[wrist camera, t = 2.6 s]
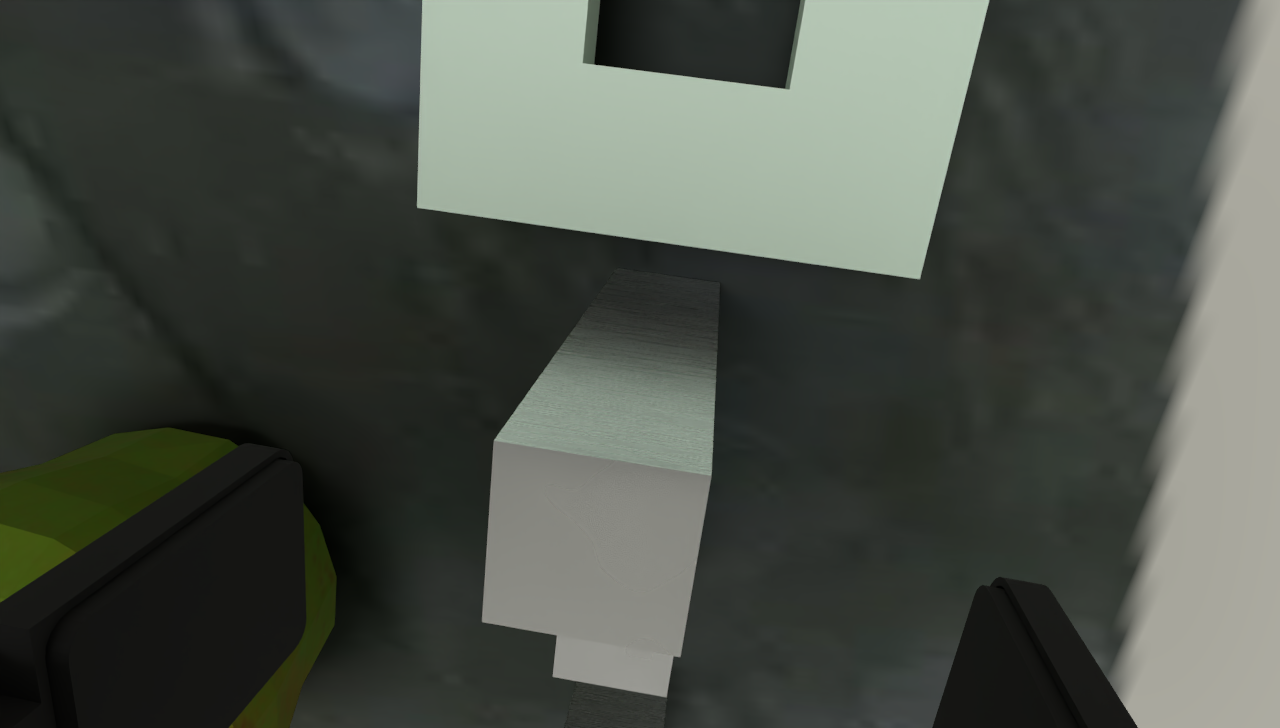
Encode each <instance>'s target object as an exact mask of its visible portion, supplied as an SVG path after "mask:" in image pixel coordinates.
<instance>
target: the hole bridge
mask: <svg viewBox="0 0 1280 728" xmlns="http://www.w3.org/2000/svg"><path fill="white" fill-rule="evenodd" d="M988 3H989V0H801V1H800V7H799V13H798V18H797V24H796V30H795V35H794V41H793V47H792V53H791V58H790V64H789V70H788V75H787V81H786V87H785V89H780V88H773V87H765V86H757V85H749V84H741V83H733V82H726V81H718V80H710V79H702V78H694V77H686V76H679V75H671V74H663V73H655V72H647V71H639V70H632V69H624V68H616V67H608V66H600V65H594V61H595V50H596V40H597V29H598V19H599V9H600V0H422V37H421V75H420V113H419V152H418V190H417V208H423V209H430V210H437V211H444V212H451V213H458V214H465V215H472V216H479V217H486V218H493V219H500V220H507V221H514V222H521V223H528V224H535V225H542V226H549V227H556V228H563V229H570V230H577V231H584V232H591V233H598V234H605V235H612V236H619V237H626V238H633V239H640V240H647V241H655V242H662V243H669V244H676V245H683V246H690V247H697V248H704V249H711V250H718V251H725V252H732V253H739V254H746V255H753V256H760V257H767V258H774V259H781V260H788V261H795V262H802V263H809V264H816V265H823V266H830V267H837V268H844V269H851V270H858V271H865V272H872V273H879V274H886V275H893V276H900V277H908V278H915V279H920V276H921V272H922V268H923V264H924V260H925V256H926V252H927V248H928V244H929V240H930V236H931V232H932V228H933V224H934V220H935V216H936V212H937V208H938V204H939V200H940V196H941V192H942V188H943V184H944V180H945V176H946V172H947V168H948V164H949V160H950V156H951V152H952V148H953V144H954V140H955V136H956V132H957V128H958V124H959V120H960V116H961V112H962V108H963V104H964V100H965V96H966V92H967V88H968V84H969V80H970V76H971V72H972V68H973V64H974V60H975V55H976V51H977V47H978V43H979V39H980V35H981V31H982V27H983V23H984V19H985V15H986V11H987V7H988Z"/></svg>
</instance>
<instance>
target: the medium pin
mask: <svg viewBox="0 0 1280 728" xmlns="http://www.w3.org/2000/svg"><path fill="white" fill-rule="evenodd" d="M672 661H673V656H670V655H665V654H659V653H654V652H648V651H642V650H637V649H631V648H625V647H620V646H614V645H609V644H603V643H597V642H592V641H586V640H580V639H575V638H569V637H564V636H558V635H557V640H556V650H555V659H554V669H553V677H557V678H562V679H568V680H573V681H579V682H584V683H590V684H595V685H601V686H606V687H612V688H617V689H623V690H628V691H634V692H639V693H645V694H650V695H656V696H661V697H667V691H668V685H669V679H670V673H671V667H672Z"/></svg>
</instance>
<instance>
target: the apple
mask: <svg viewBox="0 0 1280 728" xmlns="http://www.w3.org/2000/svg"><path fill="white" fill-rule="evenodd" d="M237 447H238V445H236V444H235V443H233V442H232V441H230V440H227V439H223V438H218V437H213V436H208V435H203V434H198V433H193V432H189V431H184V430H179V429H174V428H169V427H168V428H159V429H151V430H142V431H134V432H125V433H117V434H112V435H110V436H108V437H105V438H103V439H100V440H98V441H96V442H93V443H91V444H88V445H86V446H84V447H81V448H79V449H77V450H74V451H72V452H69V453H67V454H65V455H62V456H60V457H57V458H55V459H53V460H50V461H48V462H45V463H43V464H39V465H35V466H30V467H26V468H21V469H17V470H12V471H8V472H3V473H0V602H2V601H3V600H5V599H6V598H8V597H9V596H11V595H12V594H14V593H15V592H17V591H18V590H20V589H22V588H23V587H25V586H26V585H28V584H29V583H31V582H32V581H34V580H35V579H37V578H38V577H40V576H41V575H43V574H44V573H46V572H47V571H49V570H51V569H52V568H54V567H55V566H57V565H58V564H60V563H61V562H63V561H64V560H66V559H67V558H69V557H70V556H72V555H73V554H75V553H76V552H78V551H80V550H81V549H83V548H84V547H86V546H87V545H89V544H90V543H92V542H93V541H95V540H96V539H98V538H99V537H101V536H102V535H104V534H105V533H107V532H109V531H110V530H112V529H113V528H115V527H116V526H118V525H119V524H121V523H122V522H124V521H125V520H127V519H128V518H130V517H131V516H133V515H135V514H136V513H138V512H139V511H141V510H142V509H144V508H145V507H147V506H148V505H150V504H151V503H153V502H154V501H156V500H157V499H159V498H160V497H162V496H164V495H165V494H167V493H168V492H170V491H171V490H173V489H174V488H176V487H177V486H179V485H180V484H182V483H183V482H185V481H186V480H188V479H189V478H191V477H193V476H194V475H196V474H197V473H199V472H200V471H202V470H203V469H205V468H206V467H208V466H209V465H211V464H212V463H214V462H215V461H217V460H218V459H220V458H222V457H223V456H225V455H226V454H228V453H229V452H231V451H232V450H234V449H235V448H237ZM303 508H304V545H305V582H306V626H305V631H304V633H303V636H302V639H301V640H300V642H299V644H298V646H297V647H296V648H295V650H294V651H293V652H292V653H291V654H290V656H289V657H288V658H287V659H286V660H285V661H284V663H283V664H282V665H281V666H280V667H279V669H278V670H277V671H276V672H275V673H274V675H273V676H272V677H271V678H270V679H269V680H268V682H267V683H266V684H265V685H264V686H263V688H262V689H261V690H260V691H259V692H258V693H257V695H256V696H255V697H254V698H253V699H252V701H251V702H250V703H249V704H248V705H247V707H246V708H245V709H244V710H243V711H242V712H241V714H240V715H239V716H238V717H237V718H236V720H235V721H234V722H233V723H232V724H231V726H230V727H229V728H289V727H290V724H291V720H292V717H293V714H294V711H295V707H296V704H297V701H298V698H299V694H300V691H301V688H302V685H303V683H304V681H305V679H306V677H307V675H308V674H309V672H310V670H311V668H312V666H313V664H314V662H315V661H316V659H317V657H318V655H319V653H320V651H321V649H322V647H323V646H324V644H325V642H326V640H327V638H328V636H329V634H330V632H331V631H332V629H333V627H334V625H335V603H336V579H337V577H336V574H335V570H334V567H333V564H332V561H331V558H330V555H329V552H328V549H327V546H326V543H325V540H324V537H323V534H322V531H321V527H320V525H319V523H318V522H317V521H316V519H315V518H314V517H313V515H312V514H311V513H310V511H309V510H308V509H307V507H306V506H305V505H304V503H303Z"/></svg>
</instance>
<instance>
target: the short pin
mask: <svg viewBox="0 0 1280 728" xmlns="http://www.w3.org/2000/svg"><path fill="white" fill-rule="evenodd" d="M667 692H668V691H667ZM666 702H667V697H661V696H656V695H650V694H645V693H639V692H634V691H628V690H623V689H617V688H612V687H606V686H601V685H595V684H590V683H584V682H579V681H577V682H576V685H575V689H574V693H573V697H572V700H571V704H570V708H569V712H568V715H567V719H566V723H565V727H564V728H664V721H665V711H666Z"/></svg>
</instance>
